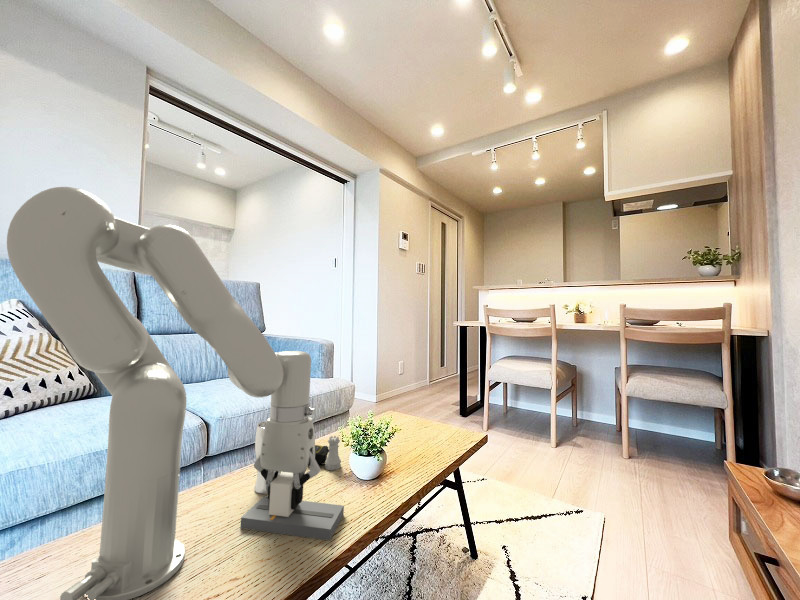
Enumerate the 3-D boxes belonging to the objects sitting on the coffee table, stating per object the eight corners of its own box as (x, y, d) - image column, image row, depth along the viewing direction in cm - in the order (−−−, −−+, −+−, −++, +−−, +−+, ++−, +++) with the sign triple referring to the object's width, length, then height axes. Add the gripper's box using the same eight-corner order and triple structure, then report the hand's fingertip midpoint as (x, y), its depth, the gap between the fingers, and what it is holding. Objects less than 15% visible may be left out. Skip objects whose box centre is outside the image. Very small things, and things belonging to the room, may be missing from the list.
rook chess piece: (337, 471, 89) (338, 441, 90) (321, 469, 90) (323, 439, 90) (343, 464, 93) (344, 435, 94) (328, 462, 94) (329, 434, 95)
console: (329, 540, 62) (330, 528, 62) (240, 528, 64) (241, 517, 64) (343, 515, 70) (343, 505, 70) (263, 505, 72) (263, 495, 72)
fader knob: (288, 516, 65) (289, 485, 65) (268, 514, 65) (270, 482, 66) (299, 503, 70) (301, 473, 70) (281, 500, 70) (283, 471, 70)
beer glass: (290, 484, 81) (293, 422, 82) (267, 498, 75) (271, 430, 76) (268, 478, 84) (272, 417, 85) (245, 490, 78) (249, 425, 79)
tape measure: (325, 467, 92) (326, 453, 92) (300, 467, 91) (300, 453, 92) (329, 457, 98) (329, 444, 99) (305, 456, 98) (306, 443, 98)
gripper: (335, 410, 71) (331, 499, 70) (262, 404, 73) (257, 490, 72) (321, 421, 63) (316, 520, 62) (241, 414, 66) (235, 509, 65)
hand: (284, 503), depth 67 cm, fingers closed on fader knob, 4 cm apart
